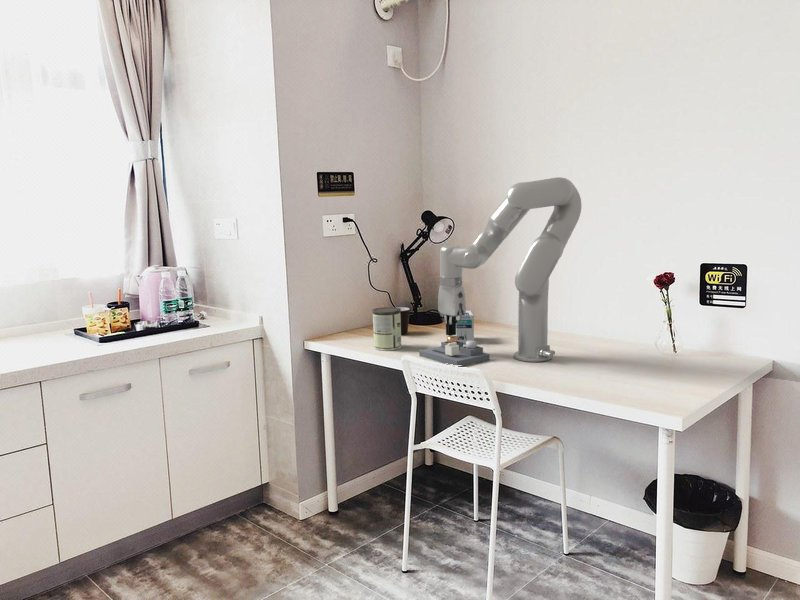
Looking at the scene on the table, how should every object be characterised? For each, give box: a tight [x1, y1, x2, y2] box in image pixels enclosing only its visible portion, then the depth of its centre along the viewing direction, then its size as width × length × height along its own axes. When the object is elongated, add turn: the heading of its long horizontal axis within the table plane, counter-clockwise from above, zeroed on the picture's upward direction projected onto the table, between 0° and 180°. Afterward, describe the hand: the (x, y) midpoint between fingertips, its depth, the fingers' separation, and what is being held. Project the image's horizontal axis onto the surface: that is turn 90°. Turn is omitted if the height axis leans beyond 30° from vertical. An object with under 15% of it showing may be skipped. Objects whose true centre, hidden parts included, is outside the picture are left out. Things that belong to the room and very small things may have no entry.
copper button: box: [446, 335, 457, 343], centre depth 232 cm, size 4×4×3 cm
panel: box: [418, 340, 490, 367], centre depth 226 cm, size 20×14×4 cm
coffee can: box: [371, 306, 403, 352], centre depth 244 cm, size 10×10×14 cm
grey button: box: [465, 339, 478, 349], centre depth 224 cm, size 4×4×3 cm
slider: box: [445, 342, 459, 356], centre depth 221 cm, size 3×3×4 cm
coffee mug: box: [395, 306, 411, 336], centre depth 266 cm, size 12×9×10 cm
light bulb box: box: [454, 310, 475, 345], centre depth 252 cm, size 11×7×11 cm, turn 179°
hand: (450, 334), depth 232 cm, fingers closed
